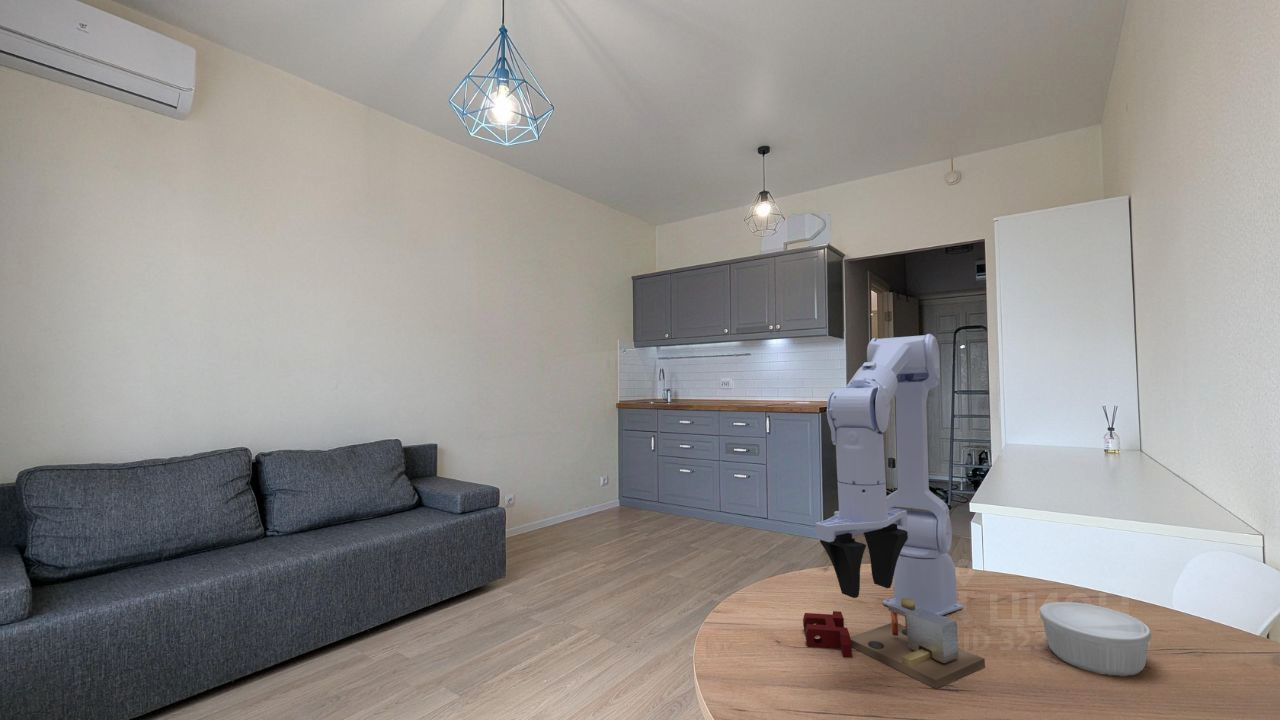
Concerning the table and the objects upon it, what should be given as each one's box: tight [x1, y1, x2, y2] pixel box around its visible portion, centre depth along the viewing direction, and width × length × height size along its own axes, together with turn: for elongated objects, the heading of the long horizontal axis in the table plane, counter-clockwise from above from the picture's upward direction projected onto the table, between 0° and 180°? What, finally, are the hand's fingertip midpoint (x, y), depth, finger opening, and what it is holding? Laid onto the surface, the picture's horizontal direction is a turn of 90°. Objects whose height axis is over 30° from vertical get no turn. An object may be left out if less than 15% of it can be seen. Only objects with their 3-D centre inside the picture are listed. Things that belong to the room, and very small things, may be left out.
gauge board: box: [850, 598, 986, 690], centre depth 73 cm, size 13×10×6 cm
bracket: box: [802, 610, 853, 659], centre depth 78 cm, size 3×6×10 cm
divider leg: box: [888, 604, 959, 663], centre depth 73 cm, size 8×3×4 cm, turn 28°
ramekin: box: [1039, 601, 1152, 677], centre depth 71 cm, size 11×11×5 cm
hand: (866, 590), depth 69 cm, fingers open, 5 cm apart
